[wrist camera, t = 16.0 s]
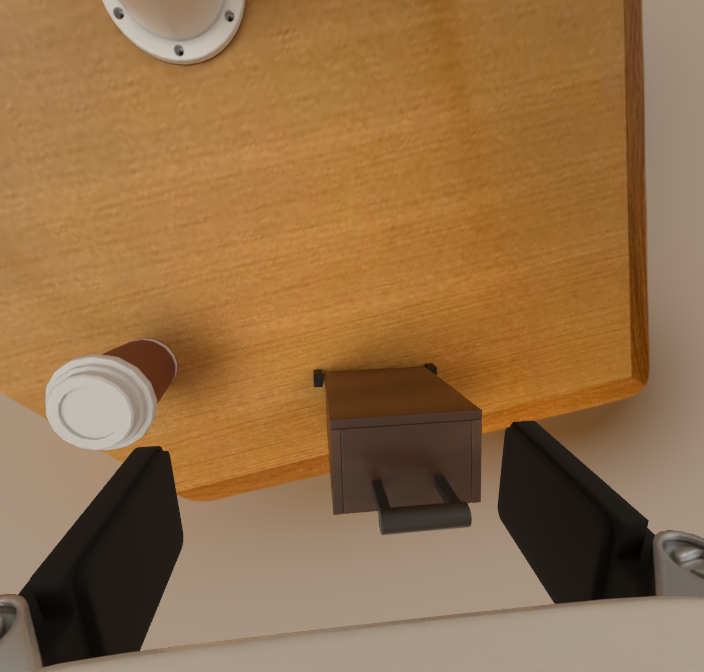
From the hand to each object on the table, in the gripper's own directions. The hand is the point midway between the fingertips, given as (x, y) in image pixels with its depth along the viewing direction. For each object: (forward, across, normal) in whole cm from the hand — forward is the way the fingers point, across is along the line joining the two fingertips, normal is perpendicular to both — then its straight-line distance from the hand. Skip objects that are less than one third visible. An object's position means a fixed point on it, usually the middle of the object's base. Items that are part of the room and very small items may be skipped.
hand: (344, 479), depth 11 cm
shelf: (+23, -6, +8) cm, 25 cm away
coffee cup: (+34, +20, +8) cm, 41 cm away
